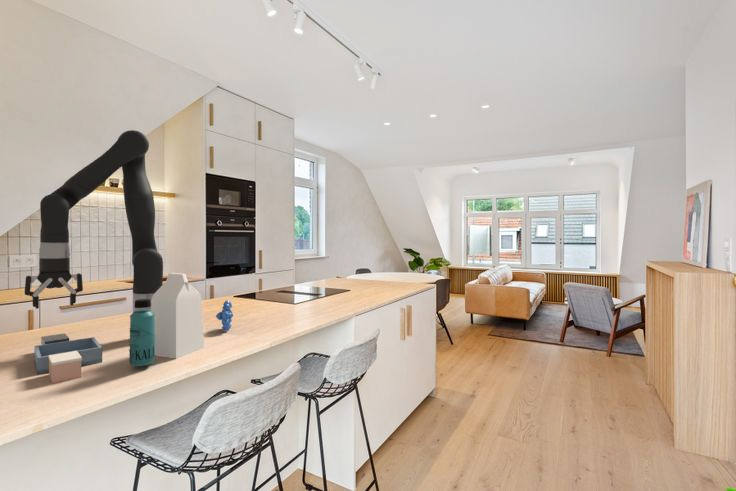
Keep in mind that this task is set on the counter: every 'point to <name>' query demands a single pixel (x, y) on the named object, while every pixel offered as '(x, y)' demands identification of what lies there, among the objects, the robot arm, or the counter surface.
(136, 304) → the beverage bottle
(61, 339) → the iron block
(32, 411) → the counter surface
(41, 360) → the box
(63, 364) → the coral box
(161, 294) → the milk
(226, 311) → the grapes
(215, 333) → the counter surface
